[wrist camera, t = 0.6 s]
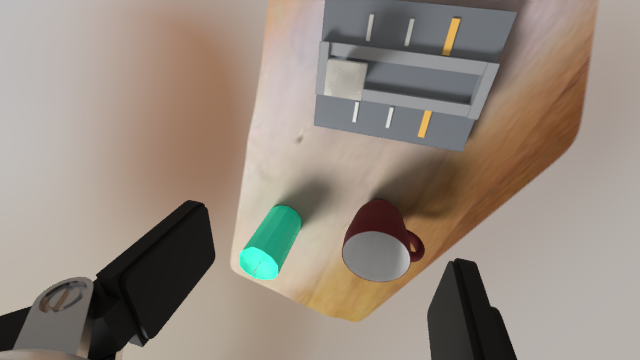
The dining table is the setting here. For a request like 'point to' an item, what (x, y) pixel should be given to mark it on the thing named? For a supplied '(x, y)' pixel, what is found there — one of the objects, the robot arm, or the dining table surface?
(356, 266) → the mug
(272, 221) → the candle
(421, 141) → the console
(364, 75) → the fader tab
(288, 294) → the dining table surface
